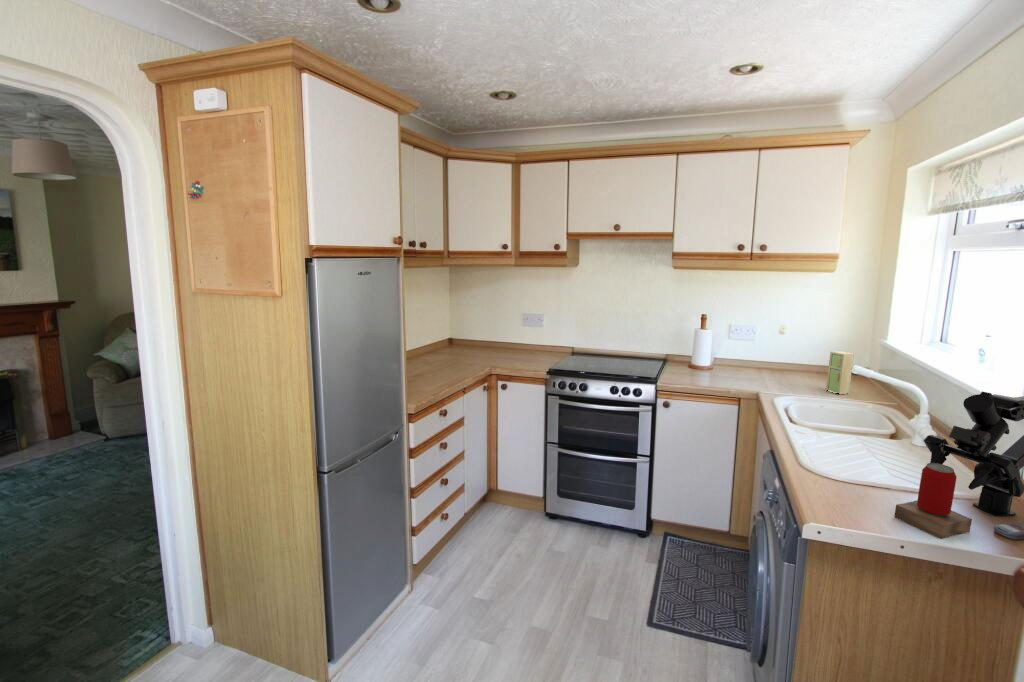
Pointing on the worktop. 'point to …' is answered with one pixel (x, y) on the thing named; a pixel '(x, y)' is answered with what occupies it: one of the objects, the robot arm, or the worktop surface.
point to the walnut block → (933, 520)
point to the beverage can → (936, 489)
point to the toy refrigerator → (839, 371)
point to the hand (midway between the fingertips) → (948, 480)
